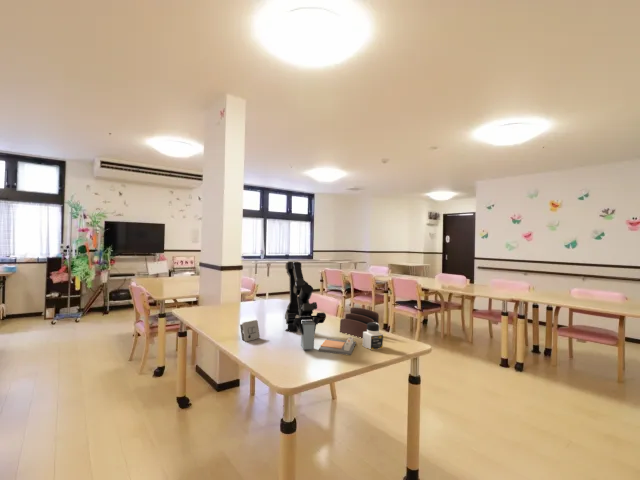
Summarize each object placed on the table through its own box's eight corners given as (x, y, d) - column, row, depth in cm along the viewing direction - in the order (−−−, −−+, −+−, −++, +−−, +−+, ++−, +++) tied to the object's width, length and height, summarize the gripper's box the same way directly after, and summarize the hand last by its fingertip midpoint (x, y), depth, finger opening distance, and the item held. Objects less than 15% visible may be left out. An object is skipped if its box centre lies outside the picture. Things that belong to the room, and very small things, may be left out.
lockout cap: (300, 345, 157) (301, 320, 157) (311, 345, 158) (312, 320, 158) (303, 349, 152) (304, 323, 152) (314, 349, 153) (315, 323, 153)
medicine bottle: (370, 350, 158) (371, 325, 158) (362, 346, 164) (363, 321, 164) (382, 348, 161) (383, 324, 161) (373, 344, 167) (374, 320, 167)
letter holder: (350, 329, 195) (351, 305, 195) (378, 337, 181) (379, 311, 181) (339, 332, 188) (340, 307, 188) (367, 340, 174) (369, 313, 174)
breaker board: (327, 340, 171) (327, 332, 171) (355, 343, 167) (356, 335, 167) (318, 351, 153) (318, 342, 153) (350, 355, 150) (351, 346, 150)
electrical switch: (245, 342, 162) (245, 323, 163) (238, 341, 165) (238, 322, 166) (260, 338, 169) (259, 320, 170) (253, 337, 173) (253, 319, 173)
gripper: (288, 296, 156) (291, 325, 145) (325, 296, 161) (332, 324, 151) (284, 309, 164) (287, 338, 153) (320, 308, 169) (326, 336, 158)
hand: (308, 334), depth 153 cm, fingers closed on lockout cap, 5 cm apart
